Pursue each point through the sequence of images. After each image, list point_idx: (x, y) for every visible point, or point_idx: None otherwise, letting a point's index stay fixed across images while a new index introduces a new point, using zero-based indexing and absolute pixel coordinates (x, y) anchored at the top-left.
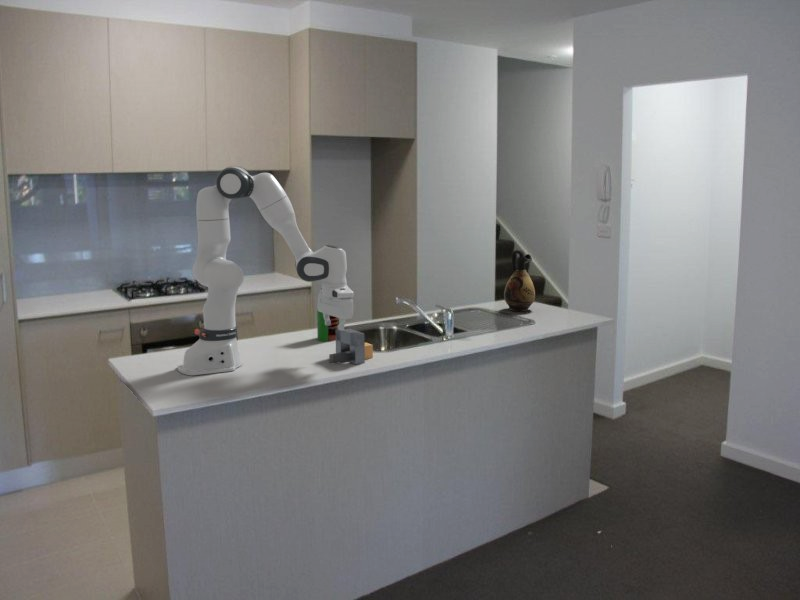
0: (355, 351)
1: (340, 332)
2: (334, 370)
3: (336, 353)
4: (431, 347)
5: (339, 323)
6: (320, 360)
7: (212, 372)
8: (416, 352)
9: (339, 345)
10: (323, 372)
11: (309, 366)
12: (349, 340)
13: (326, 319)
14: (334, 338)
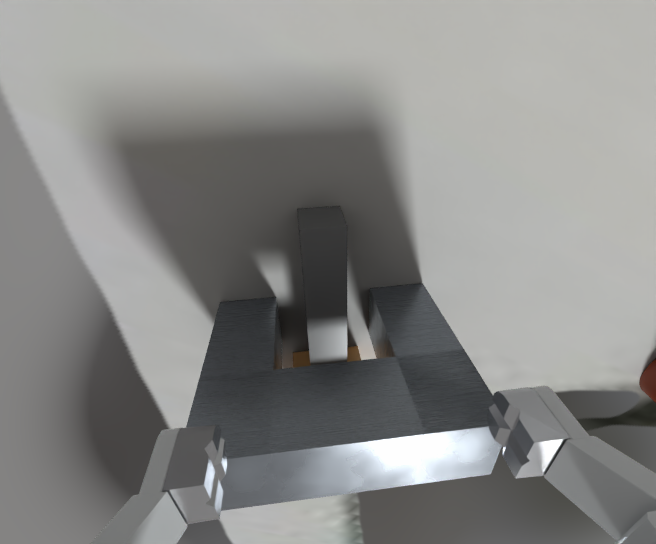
0: (206, 355)
1: (419, 413)
2: (136, 148)
3: (341, 273)
4: (313, 540)
5: (126, 533)
6: (411, 178)
7: None
8: (282, 506)
9: (404, 333)
10: (104, 46)
11: (321, 30)
12: (277, 396)
13: (580, 464)
14: (651, 379)
